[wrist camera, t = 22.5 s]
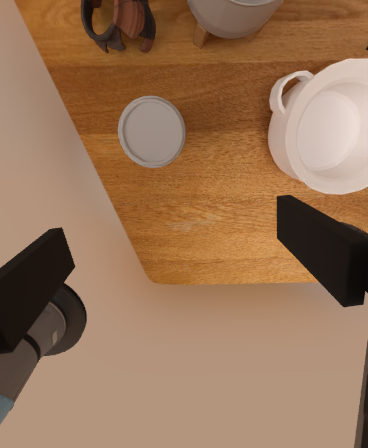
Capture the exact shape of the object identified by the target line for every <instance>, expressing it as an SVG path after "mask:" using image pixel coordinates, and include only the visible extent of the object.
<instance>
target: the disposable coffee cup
mask: <svg viewBox="0 0 368 448" xmlns="http://www.w3.org/2000/svg"><path fill="white" fill-rule="evenodd" d="M118 136H119V141H120V144H121V146H122V148H123V150H124V152H125V153H126V155H127V156H128V157H129V158H130V159H131V160H133V161H134V162H135V163H137V164H139V165H141V166H144V167H149V168H157V167H162V166H165V165H167V164H169V163H171V162H172V161H173V160H175V159H176V158H177V157H178V155H179V154H180V152H181V151H182V148H183V146H184V143H185V138H186V130H185V124H184V121H183V118H182V116H181V114H180V112H179V111H178V110H177V108H176V107H175V106H174V105H173V104H171V103H170V102H169V101H167V100H165V99H163V98H161V97H157V96H143V97H140V98H138V99H135V100H134V101H132V102H131V103H130V104H129V105H127V107H126V108H125V109H124V111H123V112H122V114H121V116H120V120H119V124H118Z"/></svg>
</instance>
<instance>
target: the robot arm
mask: <svg viewBox="0 0 368 448" xmlns="http://www.w3.org/2000/svg"><path fill="white" fill-rule="evenodd" d="M277 239H278V240H279V241H280V242H281V243H282V244H283V245H284V246H285V247H286V248H287V249H288V250H289V251H290V252H291V253H292V254H293V255H294V256H295V257H296V258H297V259H298V260H299V261H300V262H301V263H302V265H303V266H304V267H305V268H306V269H307V270H308V271H309V272H310V273H311V274H312V275H313V276H314V277H315V278H316V279H317V280H318V281H319V282H320V283H321V284H322V285H323V286H324V287H325V288H326V289H327V290H328V292H329V293H330V294H331V295H332V296H333V297H334V298H335V299H336V300H337V301H338V302H339V303H340V304H341V305H342V306H343V307H349V306H356V305H363V303H364V296H365V291H366V292H367V293H368V233H366V232H364V231H361V229H359V228H357V227H355V226H353V225H350V224H346V223H343V222H338V221H336V220H335V219H333V218H331V217H329V216H327V215H326V214H324V213H322V212H320V211H318V210H316V209H315V208H313V207H311V206H309V205H307V204H306V203H304V202H302V201H300V200H298V199H297V198H295V197H293V196H291V195H284V196H277ZM74 268H75V264H74V261H73V258H72V255H71V252H70V250H69V247H68V244H67V241H66V238H65V235H64V232H63V229H62V227H61V228H54V229H49V230H48V231H47V232H45V233H44V234H43V235H42V236H40V237H39V238H38V239H36V241H34V242H33V243H32V244H30V245H29V246H28V247H26V248H25V249H24V250H23V251H21V252H20V253H19V254H17V255H16V256H15V257H14V258H12V259H11V260H10V261H9V262H7V263H6V264H5V265H4V266H2V267H1V268H0V424H1V423H2V421H3V420H4V418H5V417H6V415H7V414H8V412H9V411H10V410H11V409H12V408H13V406H14V403H15V401H16V399H17V397H18V396H19V394H20V392H21V391H22V389H23V387H24V385H25V384H26V382H27V380H28V379H29V377H30V375H31V373H32V372H33V370H34V368H35V367H36V365H37V363H38V361H39V360H40V358H41V357H43V356H44V355H45V354H46V353H47V352H48V351H49V350H50V349H51V348H52V347H54V346H55V345H56V344H57V343H58V342H59V341H60V339H61V338H62V337H63V335H64V333H65V331H66V328H67V318H66V315H65V313H64V311H63V310H62V308H61V307H60V306H59V305H58V304H57V303H56V302H54V301H53V300H51V299H52V298H53V296H54V295H55V294H56V292H57V291H58V290H59V288H60V287H61V285H62V284H63V283H64V281H65V280H66V279H67V277H68V276H69V274H70V273H71V272H72V270H73V269H74ZM354 448H368V342H367V350H366V358H365V366H364V374H363V383H362V389H361V398H360V405H359V414H358V421H357V429H356V437H355V445H354Z"/></svg>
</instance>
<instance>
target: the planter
mask: <svg viewBox="0 0 368 448" xmlns="http://www.w3.org/2000/svg"><path fill="white" fill-rule="evenodd" d="M284 1H285V0H187V2H188V5H189V8H190V10H191V12H192V14H193V15H194V17H195V19H196V20H197V21H198V22H197V27H196V32H195V37H194V43H195V44H196V45H197V46H198V47H199V48H200V49H201V47H202V46H203V44H204V43H205V41H206V39H207V37H208V35H209V33H211V34H213V35H215V36H218V37H220V38H225V39H237V38H243V37H245V38H246V39H247V40H248V41H249V42H250V41H251V40H252V39H253V38H254V37H255V36H256V34H257V33H258V32H259V31H260V30H261V29H262V27H263V26H264V25H265V24H266V23H267V21H268V20H269V19H270V17H271V16H272V15H273V14H274V13H275V12H276V10H277V9H278V8H279V7H280V6H281V4H282V3H283V2H284Z"/></svg>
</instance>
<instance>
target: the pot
mask: <svg viewBox="0 0 368 448" xmlns="http://www.w3.org/2000/svg"><path fill="white" fill-rule="evenodd" d="M294 77H296V78H297V79H299V80H300V81H299V82H298V83H297V84H296V85H294V86H293V87H292V88H291V89H290V90H289V91H288V92H287V93H286V94H285V95H284V96H283V97H282V98H281V95H282V90H283V87H284V86H285V84H286V83H287V81H288V80H290V79H292V78H294ZM269 102H270V109H271V110H272V111H273V114H272V117H271V121H270V125H269V130H268V146H269V149H270V152H271V155H272V157H273V160H274V162H275V163H276V164H277V166H278V167H279V169H280V170H282V171H283V172H284V173H286V174H287V175H289V176H290V177H292V178H294V179H297V180H300V181H302V182H303V183H305V184H306V185H307V186H308V187H309V188H311V189H313V190H316V191H319V192H322V193H325V194H342V195H343V194H347V193H351V192H355V191H359V190H362V189H364V188H366V187H368V59H346V60H344V61H341V62H338V63H335V64H332V65H330V66H328V67H327V68H325V69H324V70H322V71H321V72H319V73H318V74H316V75H313V74H311V73H310V72H308V71H298V72H294V73H291V74H288V75H286V76H284V77H283V78H281V79H279V80H277V82H276V83H275V85H274V86H273V88H272V90H271V94H270V99H269Z"/></svg>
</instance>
